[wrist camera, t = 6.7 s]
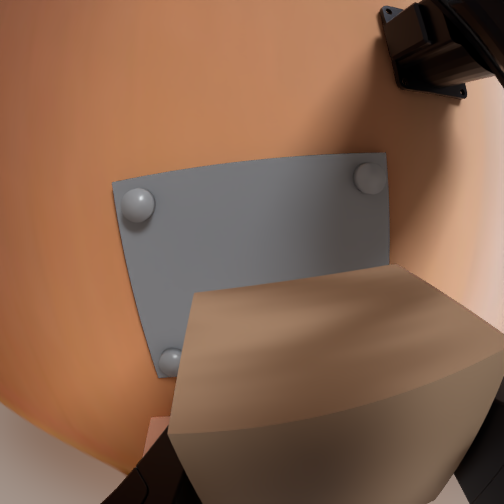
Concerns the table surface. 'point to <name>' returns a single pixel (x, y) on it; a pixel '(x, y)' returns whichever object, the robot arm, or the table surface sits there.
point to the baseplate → (246, 232)
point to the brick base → (331, 390)
